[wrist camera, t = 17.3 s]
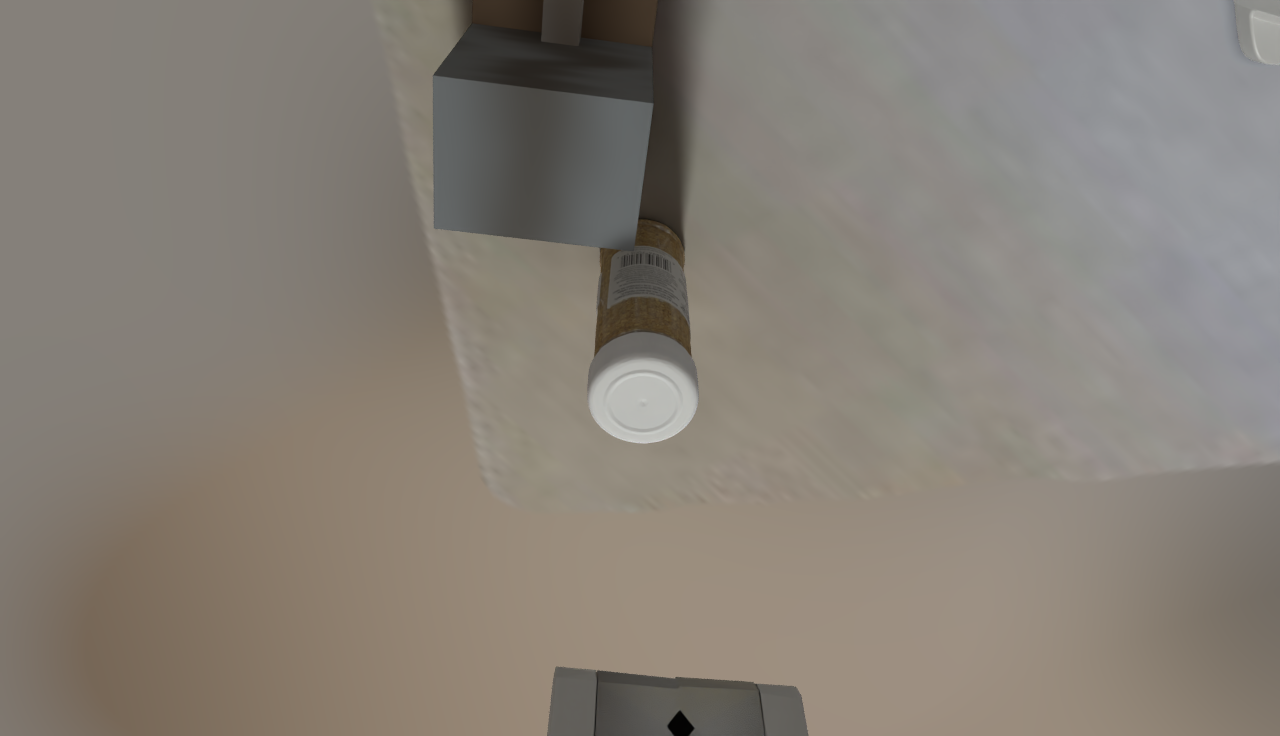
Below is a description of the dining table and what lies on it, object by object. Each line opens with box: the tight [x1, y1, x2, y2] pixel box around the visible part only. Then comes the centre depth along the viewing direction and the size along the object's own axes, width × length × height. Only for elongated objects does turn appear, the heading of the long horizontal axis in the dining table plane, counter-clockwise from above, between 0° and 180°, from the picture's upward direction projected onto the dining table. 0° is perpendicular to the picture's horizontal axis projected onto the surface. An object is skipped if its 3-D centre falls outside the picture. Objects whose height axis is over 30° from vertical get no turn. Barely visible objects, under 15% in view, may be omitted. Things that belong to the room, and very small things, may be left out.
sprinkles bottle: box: [588, 219, 699, 443], centre depth 41 cm, size 5×5×13 cm
